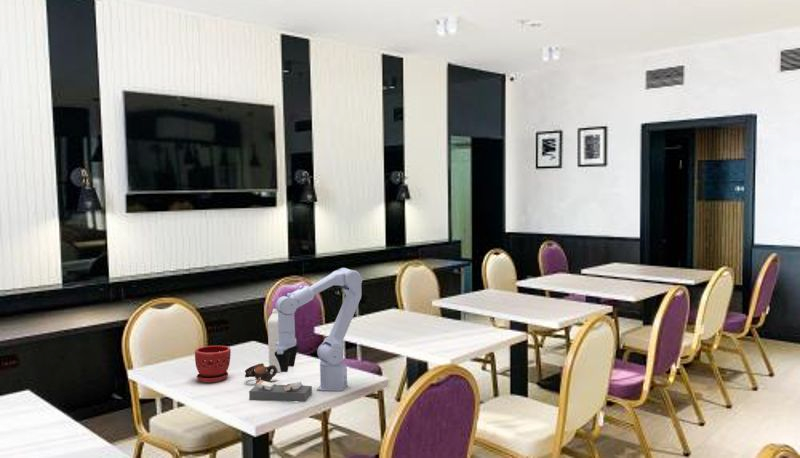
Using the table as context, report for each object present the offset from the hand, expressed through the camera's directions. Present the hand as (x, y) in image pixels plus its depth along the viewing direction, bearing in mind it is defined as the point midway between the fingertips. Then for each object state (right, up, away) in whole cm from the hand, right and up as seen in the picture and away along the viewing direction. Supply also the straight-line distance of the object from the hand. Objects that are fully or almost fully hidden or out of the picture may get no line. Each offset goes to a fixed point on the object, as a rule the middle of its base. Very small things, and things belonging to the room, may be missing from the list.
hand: (287, 369), depth 220 cm
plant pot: (-32, -9, +21) cm, 40 cm away
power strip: (-2, -10, -1) cm, 10 cm away
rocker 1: (-7, -5, -2) cm, 9 cm away
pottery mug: (-13, -9, +16) cm, 23 cm away
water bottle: (-9, -8, +32) cm, 35 cm away
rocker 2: (+2, -5, -4) cm, 7 cm away
